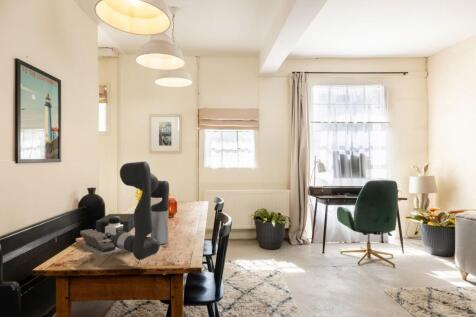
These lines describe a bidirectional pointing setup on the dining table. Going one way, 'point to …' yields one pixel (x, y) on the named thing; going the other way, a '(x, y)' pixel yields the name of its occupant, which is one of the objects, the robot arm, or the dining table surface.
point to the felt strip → (100, 250)
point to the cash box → (125, 220)
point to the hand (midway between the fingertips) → (107, 234)
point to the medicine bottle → (114, 225)
